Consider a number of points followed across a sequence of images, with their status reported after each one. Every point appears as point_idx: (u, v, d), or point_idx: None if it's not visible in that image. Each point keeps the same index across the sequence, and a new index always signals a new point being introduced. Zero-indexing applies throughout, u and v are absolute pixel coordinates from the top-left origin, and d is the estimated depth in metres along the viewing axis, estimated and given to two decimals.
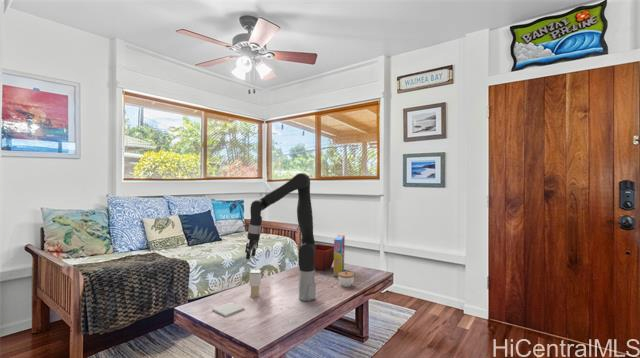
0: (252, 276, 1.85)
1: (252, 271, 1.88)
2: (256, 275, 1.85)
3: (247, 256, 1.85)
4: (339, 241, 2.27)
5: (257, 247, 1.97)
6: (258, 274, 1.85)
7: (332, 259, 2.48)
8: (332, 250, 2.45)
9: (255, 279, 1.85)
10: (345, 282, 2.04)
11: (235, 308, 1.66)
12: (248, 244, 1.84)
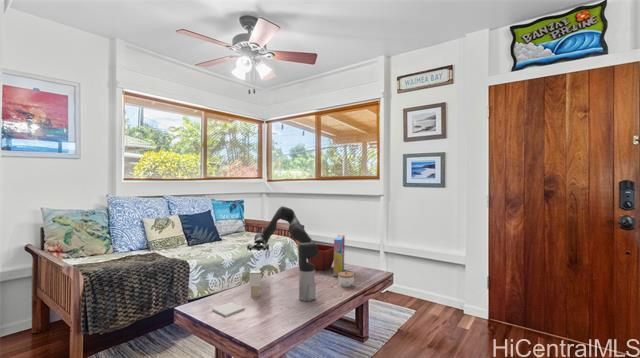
0: (252, 276, 1.85)
1: (252, 271, 1.88)
2: (256, 275, 1.85)
3: (249, 248, 2.00)
4: (339, 241, 2.27)
5: (267, 245, 2.05)
6: (258, 274, 1.85)
7: (332, 259, 2.48)
8: (332, 250, 2.45)
9: (255, 279, 1.85)
10: (345, 282, 2.04)
11: (235, 308, 1.66)
12: None
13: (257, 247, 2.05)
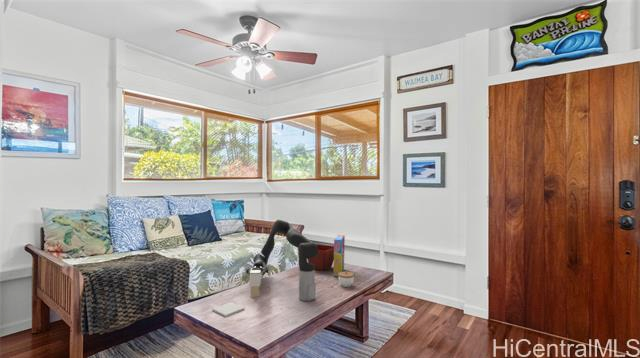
0: (252, 276, 1.85)
1: (252, 271, 1.88)
2: (256, 275, 1.85)
3: None
4: (339, 241, 2.27)
5: (267, 269, 2.01)
6: (258, 274, 1.85)
7: (332, 259, 2.48)
8: (332, 250, 2.45)
9: (255, 279, 1.85)
10: (345, 282, 2.04)
11: (235, 308, 1.66)
12: None
13: None
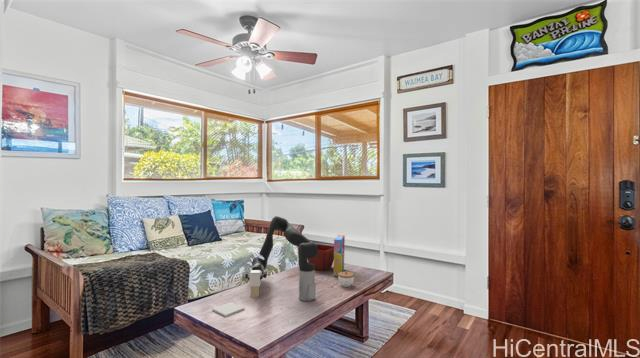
0: (252, 276, 1.85)
1: (252, 271, 1.88)
2: (256, 275, 1.85)
3: (247, 277, 1.87)
4: (339, 241, 2.27)
5: (264, 273, 1.91)
6: (258, 274, 1.85)
7: (332, 259, 2.48)
8: (332, 250, 2.45)
9: (255, 279, 1.85)
10: (345, 282, 2.04)
11: (235, 308, 1.66)
12: None
13: None
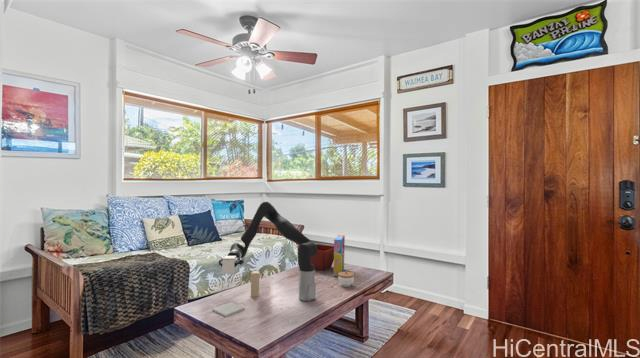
0: (225, 262, 1.64)
1: (226, 257, 1.67)
2: (230, 261, 1.64)
3: (221, 263, 1.66)
4: (339, 241, 2.27)
5: (240, 259, 1.70)
6: (232, 260, 1.64)
7: (332, 259, 2.48)
8: (332, 250, 2.45)
9: (229, 265, 1.64)
10: (345, 282, 2.04)
11: (235, 308, 1.66)
12: None
13: None
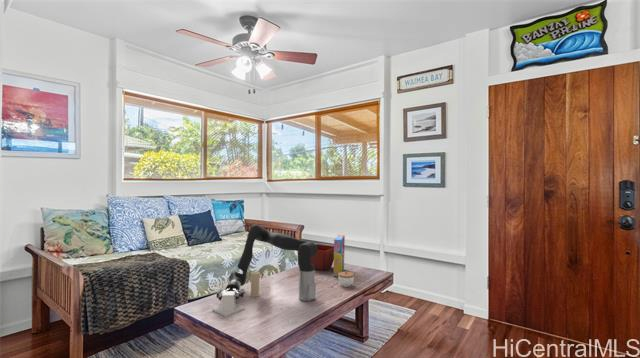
0: (225, 299, 1.63)
1: (225, 293, 1.66)
2: (229, 298, 1.63)
3: None
4: (339, 241, 2.27)
5: (241, 292, 1.70)
6: (231, 297, 1.64)
7: (332, 259, 2.48)
8: (332, 250, 2.45)
9: (228, 302, 1.63)
10: (345, 282, 2.04)
11: (235, 308, 1.66)
12: None
13: None
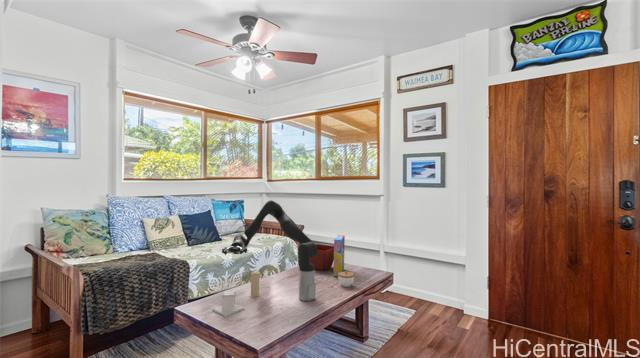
0: (225, 299, 1.63)
1: (225, 293, 1.66)
2: (229, 298, 1.63)
3: (224, 252, 1.79)
4: (339, 241, 2.27)
5: (245, 248, 1.83)
6: (231, 297, 1.64)
7: (332, 259, 2.48)
8: (332, 250, 2.45)
9: (228, 302, 1.63)
10: (345, 282, 2.04)
11: (235, 308, 1.66)
12: None
13: (233, 250, 1.83)
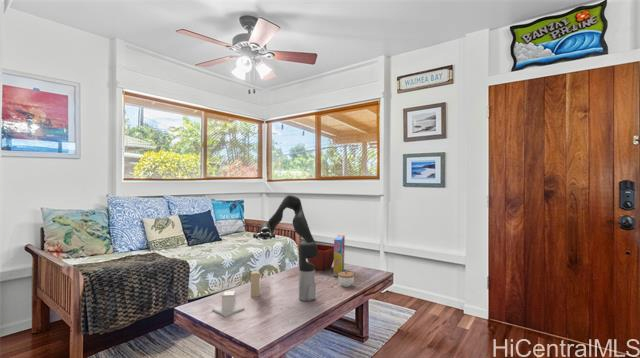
0: (225, 299, 1.63)
1: (225, 293, 1.66)
2: (229, 298, 1.63)
3: None
4: (339, 241, 2.27)
5: (274, 234, 2.01)
6: (231, 297, 1.64)
7: (332, 259, 2.48)
8: (332, 250, 2.45)
9: (228, 302, 1.63)
10: (345, 282, 2.04)
11: (235, 308, 1.66)
12: None
13: (263, 236, 2.01)
